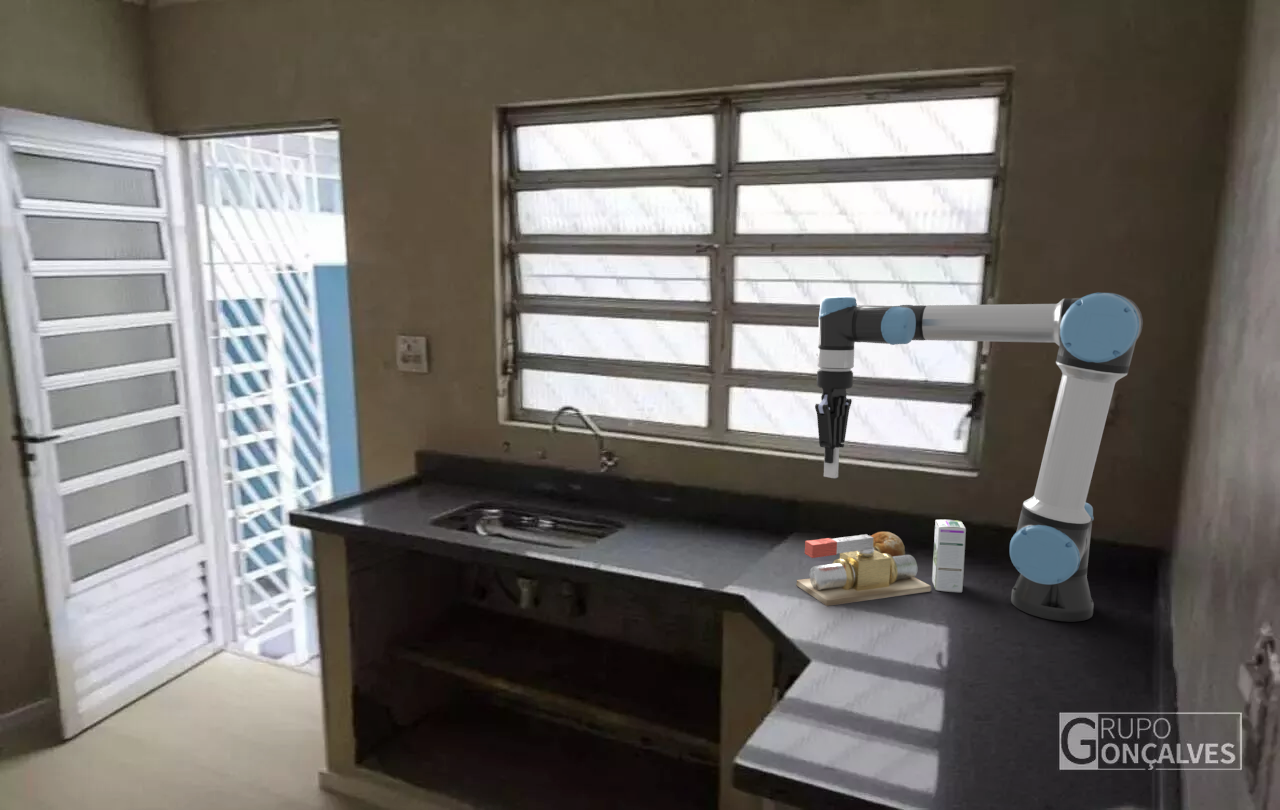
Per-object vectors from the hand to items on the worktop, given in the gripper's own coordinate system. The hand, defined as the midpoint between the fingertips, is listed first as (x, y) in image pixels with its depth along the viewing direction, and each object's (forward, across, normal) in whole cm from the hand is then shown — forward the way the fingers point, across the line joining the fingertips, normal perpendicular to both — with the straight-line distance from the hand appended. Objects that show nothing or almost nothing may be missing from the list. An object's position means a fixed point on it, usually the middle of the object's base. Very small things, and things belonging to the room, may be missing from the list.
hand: (830, 476), depth 179 cm
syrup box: (+24, -14, +22) cm, 35 cm away
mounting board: (+24, -1, +8) cm, 25 cm away
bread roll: (+24, -24, +3) cm, 34 cm away
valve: (+24, -1, +8) cm, 25 cm away
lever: (+16, +5, +5) cm, 17 cm away
